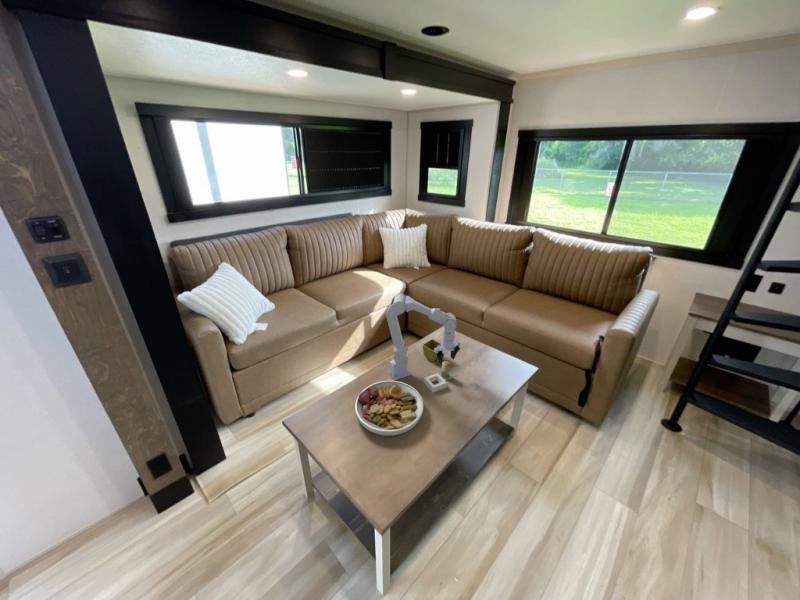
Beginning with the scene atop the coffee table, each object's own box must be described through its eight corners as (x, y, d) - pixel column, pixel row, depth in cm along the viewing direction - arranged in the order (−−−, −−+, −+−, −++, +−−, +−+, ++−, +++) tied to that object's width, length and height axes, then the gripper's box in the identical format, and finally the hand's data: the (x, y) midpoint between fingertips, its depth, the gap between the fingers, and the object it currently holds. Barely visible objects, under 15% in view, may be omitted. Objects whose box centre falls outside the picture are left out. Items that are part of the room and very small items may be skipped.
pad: (443, 381, 156) (443, 381, 156) (436, 374, 160) (436, 374, 160) (452, 378, 158) (453, 377, 158) (446, 371, 163) (446, 370, 163)
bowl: (428, 395, 148) (429, 382, 144) (414, 447, 122) (415, 433, 118) (369, 383, 155) (369, 370, 151) (344, 430, 129) (343, 416, 125)
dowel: (444, 379, 157) (445, 366, 153) (439, 374, 160) (440, 362, 156) (450, 377, 158) (451, 364, 155) (446, 372, 162) (447, 360, 158)
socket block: (432, 392, 149) (433, 387, 147) (424, 382, 155) (424, 378, 154) (446, 387, 152) (446, 382, 151) (437, 377, 158) (437, 373, 157)
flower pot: (443, 358, 173) (444, 345, 169) (433, 365, 168) (434, 351, 164) (431, 351, 179) (432, 338, 175) (421, 357, 173) (422, 344, 170)
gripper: (440, 345, 143) (438, 369, 149) (465, 338, 149) (462, 360, 155) (432, 338, 148) (430, 361, 154) (456, 331, 154) (454, 353, 160)
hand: (446, 360), depth 155 cm, fingers open, 7 cm apart
